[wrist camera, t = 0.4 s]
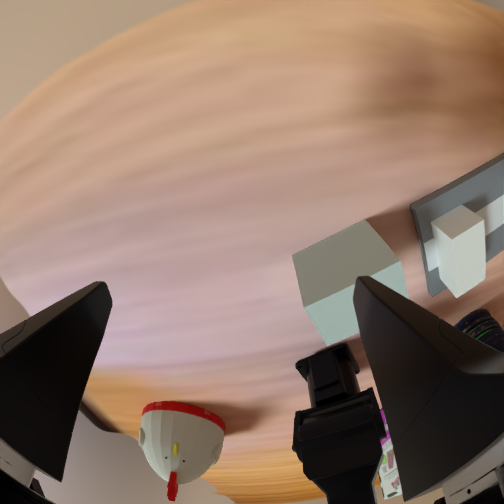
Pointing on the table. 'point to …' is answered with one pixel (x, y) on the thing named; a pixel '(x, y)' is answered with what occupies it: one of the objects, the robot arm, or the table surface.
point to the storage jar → (483, 329)
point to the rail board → (470, 199)
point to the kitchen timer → (180, 441)
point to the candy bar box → (388, 467)
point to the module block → (344, 277)
